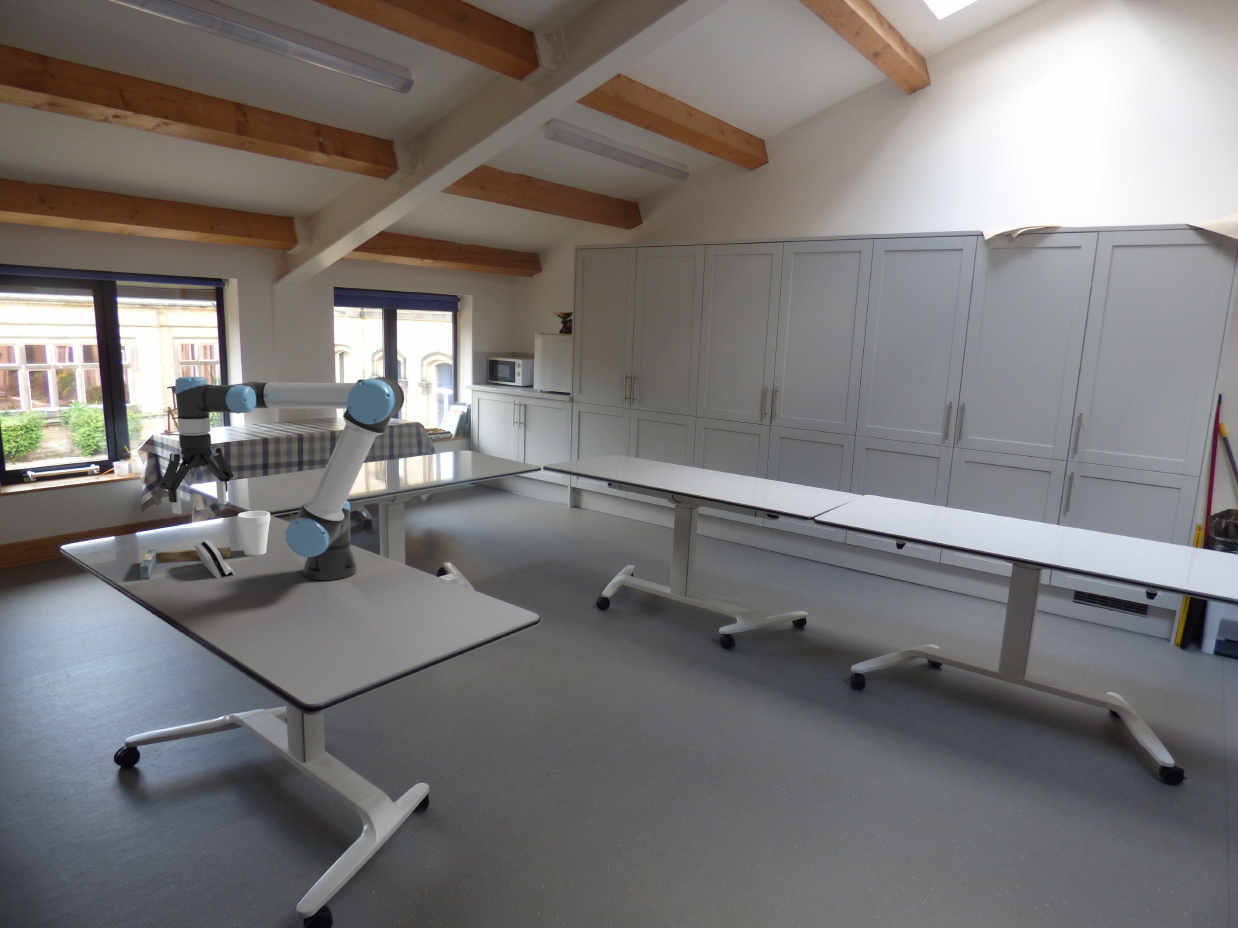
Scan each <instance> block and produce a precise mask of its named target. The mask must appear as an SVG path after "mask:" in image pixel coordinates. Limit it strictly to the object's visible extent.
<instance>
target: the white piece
mask: <svg viewBox="0 0 1238 928" xmlns="http://www.w3.org/2000/svg"><path fill="white" fill-rule="evenodd" d="M217 548H218V547H217V546H215V545H214V543H213V542H212V541H210V540H209V539H206V540H203V541H202V542H201V543H197V544H195V545H194V549H195V550H197V553H198V555H199V557H200V559H201V560H200V561H201V563H202V565H204V566H205V568H207V570H209V572H211V574H212V575H213V576H214V577H215V578H216V579H220V578H222V576H223V575H228V574H230V573H231V574H232V575H233V576H236V572H235V571H234V570H233V568H232V567H230V565H228V564H227V562H225V560H224V558H222V556H221V554H220V553H219V551H218V550H217Z"/></svg>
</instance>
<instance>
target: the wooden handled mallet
mask: <svg viewBox="0 0 1238 928" xmlns="http://www.w3.org/2000/svg"><path fill="white" fill-rule="evenodd" d="M216 548H217V550H218V551H219V553H220V554H221V556H222V558H223V559H227V558H229V559H230V558H231V555H232V554H231V553H232V552H231V547H216ZM187 561H188V562H189V561H190V562H191V561H201V559H200V557H199V555H198V553H197V550H196V549H185V550H171V551H169V550H168V551H157V548H155V549H154V548H151V549H148V550H147V551H146V554H145V556H144V558H143V560H142V562H141V564H140V566H139V570H140V571H139V572H140V573H139V574H140V575H139V576H140V581H143V580H144V581H145V580H150V578H151V576H152V574H153V572H154V570H155V567H156V565H157V564H163V563H174V562H176V563H177V562H187Z"/></svg>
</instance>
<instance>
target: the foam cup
mask: <svg viewBox="0 0 1238 928" xmlns="http://www.w3.org/2000/svg"><path fill="white" fill-rule="evenodd" d="M270 522H271V513H270V512H269V511H265V510H251V511H250V510H249V511H244V512H239V513H238V514H237V523H238V525H239V526H238V527H239V533H240V537H241V542H242V549H243V553H244V555H245V556H254V557H255V556H261V555H264V554H266V553H267V547H268V537H269V529H270Z"/></svg>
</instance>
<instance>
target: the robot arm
mask: <svg viewBox="0 0 1238 928" xmlns="http://www.w3.org/2000/svg"><path fill="white" fill-rule="evenodd" d="M174 395H175V400H176V410H177V424H178V433H180V434H179V436H178V440H179V448H180V450H181V452H180V453H173V452H171V453H170V454H169V462H168V463H167V464H168V465H167V466H166V469H165V472H164V475H163V477H162V480H161V482H160V485H159V488H160V489H162V490H166V491H167V493H168V502H169V503H171V510H172V512H171V513H172V514H174V515H175V514H176V515H181V514H182V512H183V511H182V510H183V509H182V498H181V497H182V496H181V490H179V489H178V488H179V487H180V486H181V483H182V482H183V481H184V479H185V478H186V476H187V474H189V471H191V470H192V469H193V468H199V467H206V468H207V469H208V470H209V471H210V473H212V474H213V475H214V476H215V478H217V479H218V480H216V481H215V482H216V485H215V486H216V496H217V504H221V505H226V504H227V492H228V489H229V487H228V482H230V480H231V479H233V478H234V474H233V472H232V469H231V468H230V466H229V465H228V463H227V461H226V459H225V457H224V456H223V452H222V451H223V450H222V448H221V447H212V435H211V433H210V432H211V421H210V413H228V414H229V413H230V414H238V415H240V414H249V413H252V412H253V410H254V409H324V410H325V409H331V410H332V409H333V410H334V409H337V410H338V409H340V410H342V409H343V410H345V411H344V413H343V415H342V417H343V420H344V423H345V425H344V427H343V429H342V432H341V434H340V436H339V437H338V440H337V442H336V445H335V447H334V449H333V451H332V454H331V455H330V457H329V460H328V462H327V464H326V467H325V469H324V470H323V473H322V475H321V477H320V479H319V482H318V483H317V486H316V488H315V491H314V493H313V495H312V497H311V498H309V499H306V500H304V501H303V503H302V504H301V507H300V509H299V511H298V513H297V514H296V517H295V519H293V520H292V521H291V522H290V523H289V525H288V526H287V528H286V529H285V542H286V543H287V546H288V548H289V549H290V550H291V551H292V552H293V553H295V554H296V555H299V556H300V557H304V558H306V559H305V561H304V564H303V576H304V577H305V578H308V579H310V580H313V581H314V580H315V581H334V580H342V579H345V578H349V577H351V576H354V575H355V574H356V573H357V570H358V569H357V568H358V567H357V561H356V558H355V556H354V553H353V551H352V548H351V512H352V511H351V505H350V502H349V501H348V500H347V499H348V497H349V495H350V493H351V491H352V489H353V486H354V484H355V483H356V482H355V481H356V480H357V478H358V475H359V474H360V471H361V469H362V467H363V465H364V463H365V461H366V459H367V456H368V454H369V452H370V449H371V447H372V446H373V443H374V441H375V440H376V438H377V437H378V436H380V435H381V436H382V435H383V434H385V431H386V430H387V427H388V425H389V423H390V421H391V419H392V417H393V416H394V415H397V414H398V413H399V412H400V410H402V407H403V406H404V403H405V394H404V390H403V388H402V386H401V385H400V384H399V383H398V382H397V381H396V380H394V379H393V378H390V377H386V376H385V377H384V376H378V377H376V378H367V379H358V380H357V381H355V382H260V381H257V380H256V381H255V380H254V381H247V382H244V383H235V384H215V385H214V384H209V383H208V380H207V378H206V377H203V376H201V377H200V376H181V377H178V378H176V379H175V393H174ZM211 456H212V457H213V459H214V461H215V462H216V464H215V462H214V461H213V460H212V459H211ZM180 462H181V463H180Z"/></svg>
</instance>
